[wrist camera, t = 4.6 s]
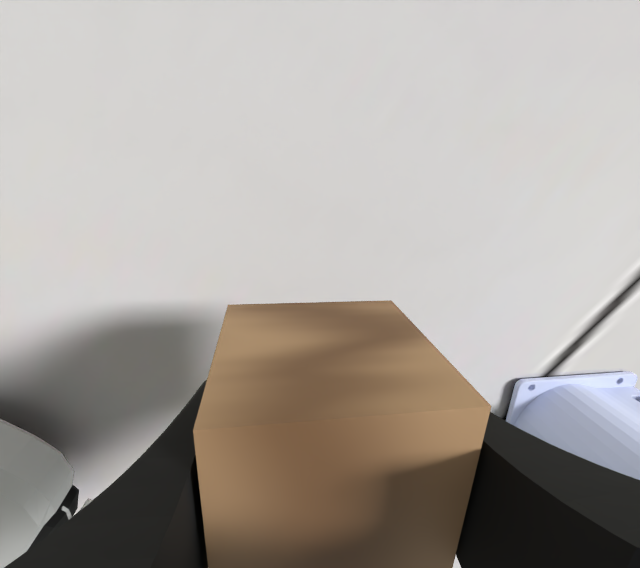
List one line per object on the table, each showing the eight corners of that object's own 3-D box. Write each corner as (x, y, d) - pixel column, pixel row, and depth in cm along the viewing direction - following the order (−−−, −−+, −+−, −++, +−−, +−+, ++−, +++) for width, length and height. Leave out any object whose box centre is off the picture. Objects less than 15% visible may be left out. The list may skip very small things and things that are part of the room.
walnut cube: (391, 300, 12) (491, 406, 6) (377, 428, 13) (446, 591, 8) (228, 304, 11) (192, 430, 6) (235, 440, 12) (215, 630, 7)
